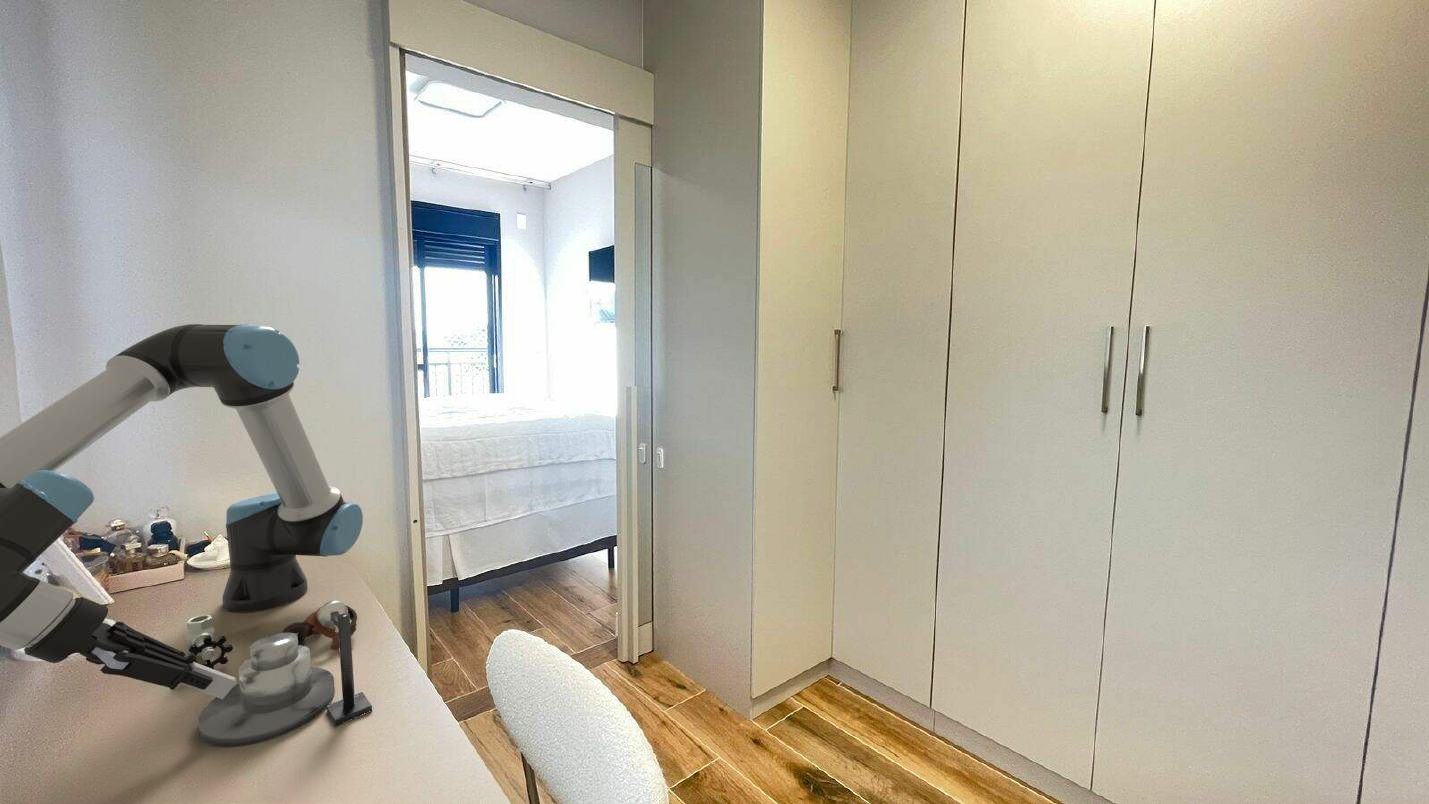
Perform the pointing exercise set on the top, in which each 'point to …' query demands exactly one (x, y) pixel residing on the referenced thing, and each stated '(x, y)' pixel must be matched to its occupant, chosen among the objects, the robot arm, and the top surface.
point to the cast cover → (275, 674)
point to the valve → (205, 641)
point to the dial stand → (343, 665)
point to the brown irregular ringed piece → (319, 628)
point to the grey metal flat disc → (262, 715)
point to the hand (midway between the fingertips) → (229, 688)
